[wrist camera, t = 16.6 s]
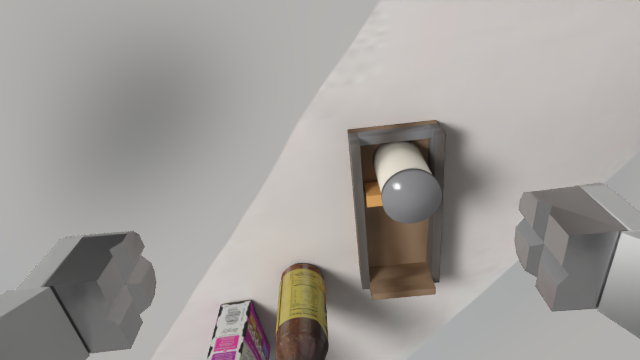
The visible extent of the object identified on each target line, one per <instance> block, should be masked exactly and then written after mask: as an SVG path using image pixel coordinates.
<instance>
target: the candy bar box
mask: <svg viewBox="0 0 640 360" xmlns="http://www.w3.org/2000/svg"><path fill="white" fill-rule="evenodd" d="M269 353H270V346H269V344H268V341H267V339H266V337H265V334H264V332H263V329H262V327H261V324H260V322H259V319H258V317H257V314H256V312H255V309H254V307H253V304H252V302H251V300H247V301H241V302H233V303H226V304H222V305H221V306H220V310H219V314H218V318H217V322H216V326H215V329H214V333H213V337H212V341H211V344H210V349H209V353H208V357H207V360H269Z"/></svg>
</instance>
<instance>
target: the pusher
mask: <svg viewBox="0 0 640 360" xmlns="http://www.w3.org/2000/svg"><path fill="white" fill-rule="evenodd" d="M364 194H365V199H366V204H367V207H376V206H383V204H382V200H381V191H380V187H379V183H378V182H369V183H364Z"/></svg>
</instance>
